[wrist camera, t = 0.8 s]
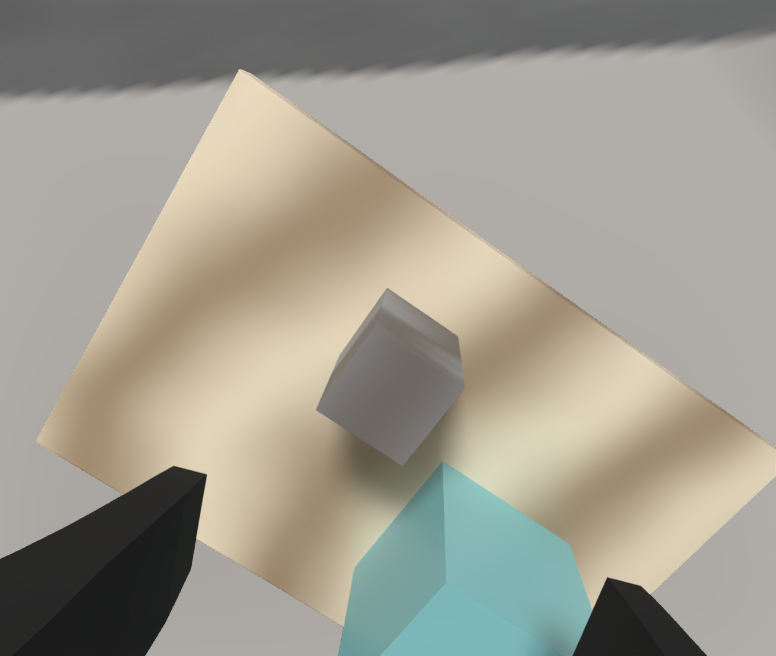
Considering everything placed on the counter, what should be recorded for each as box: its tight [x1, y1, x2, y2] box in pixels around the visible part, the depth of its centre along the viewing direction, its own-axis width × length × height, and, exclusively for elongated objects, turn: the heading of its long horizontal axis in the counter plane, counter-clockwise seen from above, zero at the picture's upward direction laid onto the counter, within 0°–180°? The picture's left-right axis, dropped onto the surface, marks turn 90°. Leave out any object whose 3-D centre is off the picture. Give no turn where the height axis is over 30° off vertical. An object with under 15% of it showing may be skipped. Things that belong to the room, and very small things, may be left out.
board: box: [36, 69, 776, 627], centre depth 18 cm, size 20×14×5 cm
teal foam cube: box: [338, 461, 592, 656], centre depth 18 cm, size 5×5×6 cm
